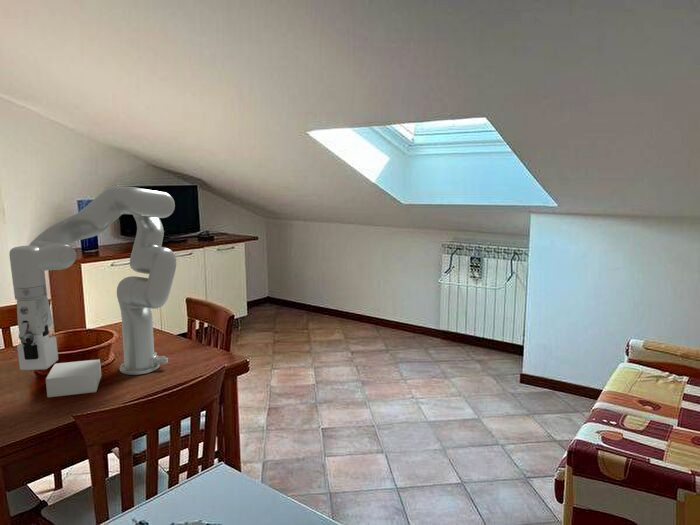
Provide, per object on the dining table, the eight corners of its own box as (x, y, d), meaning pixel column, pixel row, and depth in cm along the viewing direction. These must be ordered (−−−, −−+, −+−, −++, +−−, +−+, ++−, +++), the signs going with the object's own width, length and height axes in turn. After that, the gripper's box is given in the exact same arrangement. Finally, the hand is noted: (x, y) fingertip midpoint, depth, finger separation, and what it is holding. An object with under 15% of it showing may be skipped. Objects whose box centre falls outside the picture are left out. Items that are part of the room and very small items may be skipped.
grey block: (101, 376, 169) (100, 359, 168) (96, 392, 157) (94, 374, 156) (56, 381, 164) (54, 363, 163) (47, 398, 152) (45, 379, 151)
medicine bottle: (32, 360, 147) (27, 320, 145) (59, 359, 148) (54, 319, 145) (19, 370, 140) (13, 328, 138) (46, 369, 141) (41, 327, 138)
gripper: (31, 299, 132) (39, 365, 135) (58, 283, 149) (64, 342, 152) (-1, 300, 131) (8, 366, 134) (30, 284, 148) (37, 343, 151)
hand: (38, 353), depth 143 cm, fingers closed on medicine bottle, 7 cm apart
